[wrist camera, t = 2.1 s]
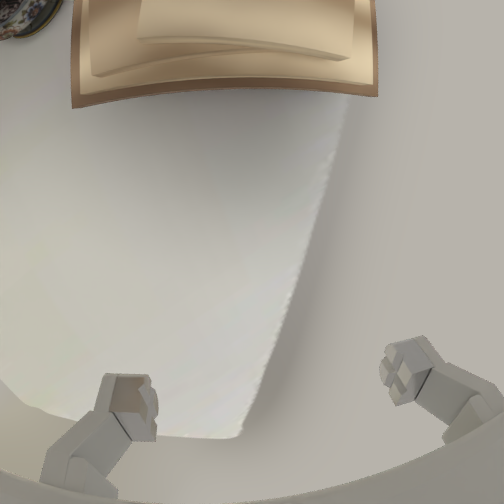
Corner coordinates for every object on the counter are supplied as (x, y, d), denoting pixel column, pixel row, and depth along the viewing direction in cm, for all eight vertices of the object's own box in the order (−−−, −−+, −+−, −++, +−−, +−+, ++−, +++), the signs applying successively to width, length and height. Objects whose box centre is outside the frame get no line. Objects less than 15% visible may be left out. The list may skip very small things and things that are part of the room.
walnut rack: (311, 97, 33) (378, 96, 19) (126, 106, 30) (72, 108, 17) (310, 7, 27) (370, -38, 13) (125, 13, 25) (79, -36, 11)
